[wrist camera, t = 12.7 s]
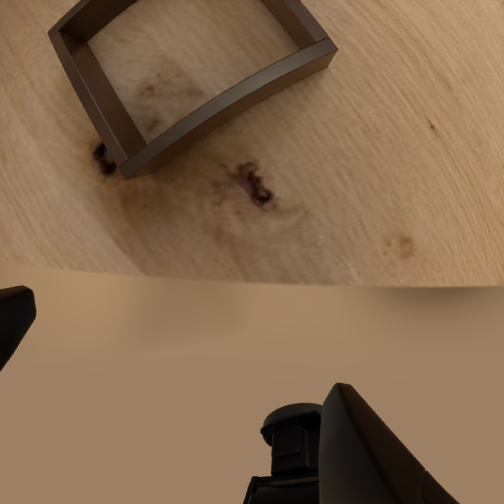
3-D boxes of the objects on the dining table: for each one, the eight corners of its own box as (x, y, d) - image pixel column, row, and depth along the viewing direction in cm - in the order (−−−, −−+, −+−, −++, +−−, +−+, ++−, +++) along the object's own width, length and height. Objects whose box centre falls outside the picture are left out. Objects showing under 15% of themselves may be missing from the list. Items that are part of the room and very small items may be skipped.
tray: (327, 67, 15) (338, 49, 11) (151, 174, 18) (125, 180, 14) (220, -56, 12) (211, -83, 8) (75, 43, 15) (46, 32, 11)
